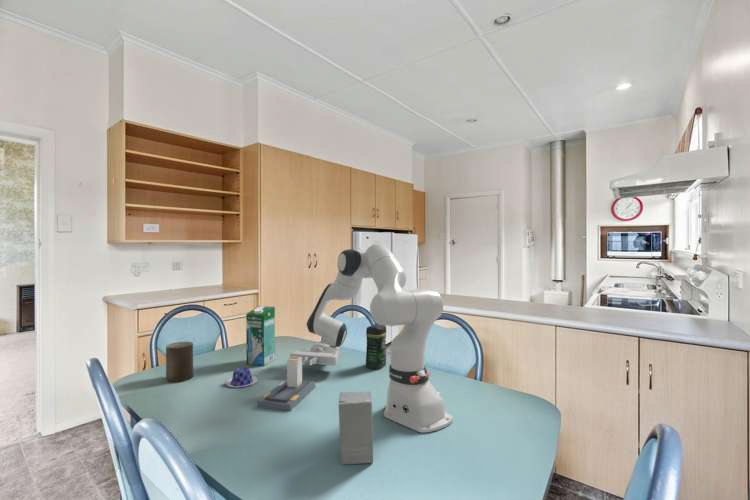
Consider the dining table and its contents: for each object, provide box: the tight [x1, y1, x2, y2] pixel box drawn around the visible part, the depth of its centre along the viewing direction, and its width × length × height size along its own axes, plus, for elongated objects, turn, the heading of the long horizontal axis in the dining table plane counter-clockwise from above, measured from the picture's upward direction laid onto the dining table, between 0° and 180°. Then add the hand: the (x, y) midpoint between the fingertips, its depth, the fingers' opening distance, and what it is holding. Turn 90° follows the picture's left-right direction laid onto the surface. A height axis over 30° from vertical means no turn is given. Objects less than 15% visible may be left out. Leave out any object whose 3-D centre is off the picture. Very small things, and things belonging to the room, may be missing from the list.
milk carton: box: [245, 305, 276, 367], centre depth 165 cm, size 9×9×25 cm
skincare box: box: [338, 390, 374, 466], centre depth 90 cm, size 8×7×16 cm
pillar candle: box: [165, 341, 194, 383], centre depth 145 cm, size 10×10×15 cm
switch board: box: [256, 378, 316, 412], centre depth 127 cm, size 20×12×3 cm, turn 166°
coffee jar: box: [365, 322, 387, 370], centre depth 159 cm, size 10×8×19 cm
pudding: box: [225, 367, 259, 388], centre depth 140 cm, size 12×12×5 cm
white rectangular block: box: [286, 356, 303, 388], centre depth 132 cm, size 4×4×10 cm
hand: (307, 363), depth 142 cm, fingers closed
